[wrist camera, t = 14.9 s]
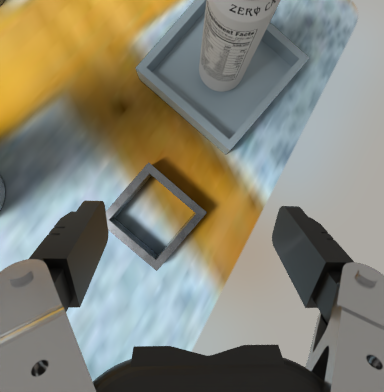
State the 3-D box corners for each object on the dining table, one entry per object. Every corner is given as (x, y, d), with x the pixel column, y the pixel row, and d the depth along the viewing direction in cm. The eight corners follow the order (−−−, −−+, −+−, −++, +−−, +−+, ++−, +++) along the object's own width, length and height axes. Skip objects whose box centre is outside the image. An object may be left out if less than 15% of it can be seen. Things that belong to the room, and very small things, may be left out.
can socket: (104, 219, 33) (97, 220, 30) (151, 164, 33) (148, 162, 30) (159, 265, 33) (156, 270, 30) (205, 211, 33) (206, 212, 31)
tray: (139, 79, 33) (135, 68, 30) (214, -5, 33) (217, -25, 30) (225, 154, 33) (230, 150, 30) (298, 70, 33) (309, 57, 30)
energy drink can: (250, 71, 32) (309, -38, 17) (222, 103, 32) (256, 22, 17) (218, 41, 32) (248, -94, 17) (189, 74, 32) (194, -34, 17)
